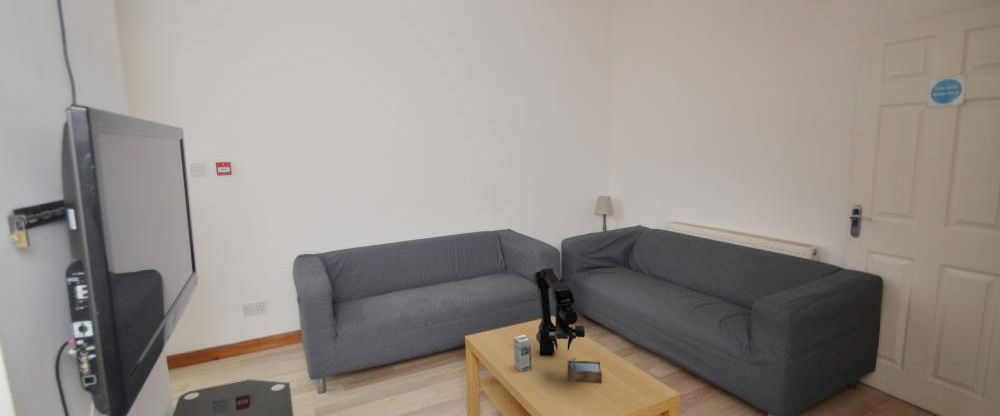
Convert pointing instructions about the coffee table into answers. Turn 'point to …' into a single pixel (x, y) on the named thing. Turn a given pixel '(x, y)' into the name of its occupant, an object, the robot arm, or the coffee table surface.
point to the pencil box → (584, 373)
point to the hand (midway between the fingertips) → (562, 349)
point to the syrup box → (522, 353)
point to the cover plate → (584, 366)
